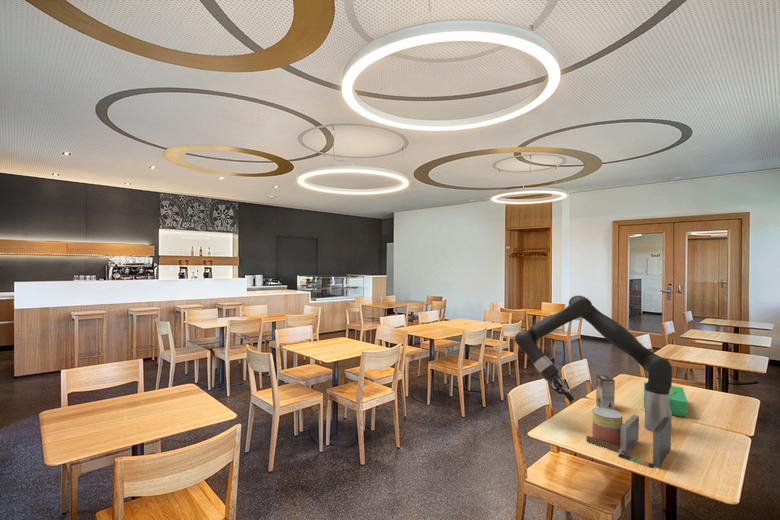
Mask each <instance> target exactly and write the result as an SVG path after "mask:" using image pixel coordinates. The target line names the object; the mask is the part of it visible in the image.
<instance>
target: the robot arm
mask: <svg viewBox="0 0 780 520" xmlns="http://www.w3.org/2000/svg"><path fill="white" fill-rule="evenodd" d="M579 318H582V319H583V320H584V321H586V322H587V323H589V324H590V325H591V326H592V327H593V328H594V329H595V330H596V331H597V332H598V333H599V334H600V335H601V336H602V337H604V338H605V339H606V340H607V341H608V342H610V343H611V344H612V345H614V346H615V347H617V348H618V349H619V350H621V351H622V352H624V353H625V354H627V355H629V356H630V357H631V358H632V359H633V360H635V362H636V363H638V364H639V365H640V366H641V367H642V368H643V370H645V371H646V372H647V373H648V375H647V376H648V377H647V378H648V380H647V383H646V384H645V406H644V428H645V429H647V430H648V431H652V432H653V431H654V430H655V429H656V427H657V426H658V425H659V424H660V422H661V421H662V420H663V419H664V418H665V417H667V418H671V422H672V420H673V419H672V416H673V415H672V411H671V410H669V392H670V388H671V385H672V386H673V382H672V380H673V367H672V364H671V363H670V361H669V360H667V359H666V358H664V357H662V356H660V355H658V354H656V353H655V352H653V351H651V350H650V349H648V348H647V347H645V346H644V345H643V344H642V343H641V342H640V341H639V340H638V339H637V337H635V336H634V335H633V334H632V333H631V331H629V330H628V329H626V327H624V326H622V324H620V323H618V322H617V321H615V320H614V319H612V318H611V317H609V316H608V315H606V314H604V313H603V312H601V311H600V310H599V309H598V308H596V307H595V305H593V302H592V301H591V300H590V299H589V298H587V297H585V296H583V295H574V296H572V297H570V299H569V301H568V305H567V306H566V307H565V308H563V309H562V310H561V311H558V312H557V313H555V314H551V315H550V316H547V317H545V318H543V319H542V320H540V321H538V322H536V323H535V324H533V325H532V326H531V327H530V328H529V329H527V330H526V331H519V332H517V333H516V334H515V338H514V341H515V343H516V345H518V347H519V348H520V350H522V351H523V352H524V353H525V354H526V356H527V358H528V359H529V360H530V362H531V363H532V364H533V365H534V368H536V370H537V371H538V373H540V375H541V376H542V378H543V379H544V380H545V381H547V382H548V381H549V382H550V384H551V386H550V388H551V390H554V391H555V392H556V393H558V394H559V395H562V396H564V397H565V398H566V399H567V400H568V402H570V403H572V402H573V401H574V400H575V398H574V396H573V395H572V394H571V393H570V386H569V383H568V381H567V379H566V378H562V377H561V376H560V375H559V373H560V370H559V369H558V368H557V366H555V365H554V363H553V362H552V361H551V360H550V359H549V358H548V356H547V355H546V354H545V353H544V352H543V351H542V349H541V348H540V347H538V346H537V344H536V342H538V341H540V339H541V338H544V337H546V336H547V335H549V334H550V333H552V332H554V331H555V330H557V329H559V328H561V327H562V326H564V325H566V324H568V323H570V322H572V321H575V320H576V319H579Z"/></svg>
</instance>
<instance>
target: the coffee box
mask: <svg viewBox="0 0 780 520" xmlns="http://www.w3.org/2000/svg"><path fill="white" fill-rule="evenodd" d="M595 380H596V383H595V384H596V386H595V387H596V390H595V393H596V396H595V397H596V398H595V400H596V402H595V404H596V406H597V408H608V409H612V410H615V393H616V392H615V388H616V387H615V385H616V380H615V379H613V378H612V377H611V376H610V375H605V374H596V379H595Z"/></svg>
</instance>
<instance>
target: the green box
mask: <svg viewBox="0 0 780 520" xmlns="http://www.w3.org/2000/svg"><path fill="white" fill-rule="evenodd" d="M647 382H648V381H647ZM647 382H646V381H643V407H645V384H646V383H647ZM687 399H688V398H687V396H686V394H685V391H684V388H683V387H682V386H681V387H680V386H674V385H673V384H672V385H671V388H670V392H669V410H671V411H672V416H674V417H680V418H686V413H687V414H688V411H689V408H688V407H689V405H688V400H687Z"/></svg>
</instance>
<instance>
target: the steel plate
mask: <svg viewBox="0 0 780 520" xmlns="http://www.w3.org/2000/svg"><path fill="white" fill-rule="evenodd" d="M639 419H640V416H639V415H636V414H632V415H631V416H630V417H629V418H628V419H627V420H625V422H624V423H622V426H621V446H620V447H619V452H617V453H618V454H617V455H619V454H625V455H627V454H628V452H629V451H630V450H631V449H632V448H633V447H634V446H635V444H637V442H638V441H639V437H640V436H639V435H640V433H639V431H640V430H639V429H640V423H639V422H640V421H639Z"/></svg>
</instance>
